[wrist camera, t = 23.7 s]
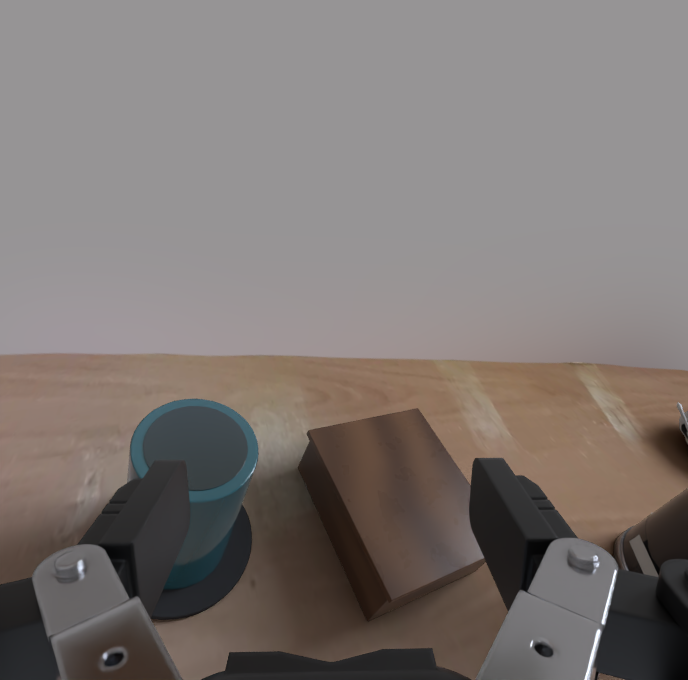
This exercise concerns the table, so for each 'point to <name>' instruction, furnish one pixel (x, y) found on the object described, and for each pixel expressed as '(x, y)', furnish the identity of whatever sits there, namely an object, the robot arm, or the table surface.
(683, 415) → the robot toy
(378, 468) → the riser
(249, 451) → the tumbler
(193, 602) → the coaster
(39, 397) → the table surface
